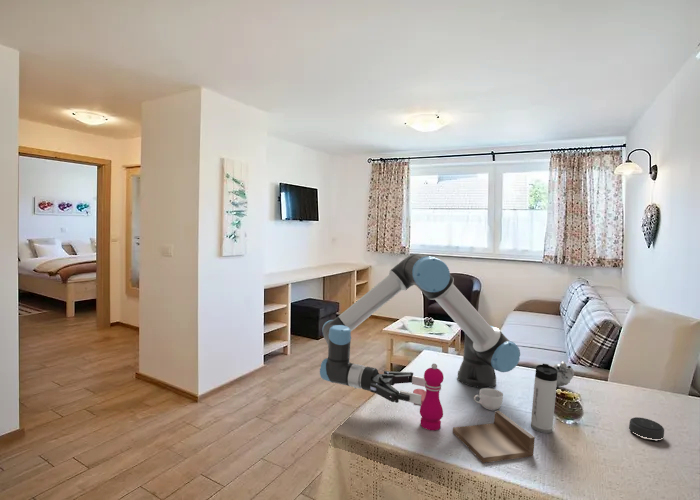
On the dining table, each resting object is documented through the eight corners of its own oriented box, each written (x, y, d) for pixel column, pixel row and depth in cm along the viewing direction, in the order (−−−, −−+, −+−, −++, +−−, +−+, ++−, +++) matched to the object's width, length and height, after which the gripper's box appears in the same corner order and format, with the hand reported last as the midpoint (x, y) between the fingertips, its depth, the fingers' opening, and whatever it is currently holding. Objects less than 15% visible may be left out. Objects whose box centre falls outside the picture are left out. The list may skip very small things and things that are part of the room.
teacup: (495, 402, 147) (497, 388, 147) (505, 412, 139) (507, 397, 139) (469, 402, 146) (470, 387, 146) (477, 412, 138) (478, 397, 138)
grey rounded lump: (575, 386, 165) (572, 356, 165) (576, 394, 156) (572, 363, 156) (548, 385, 169) (544, 356, 170) (547, 392, 161) (543, 362, 161)
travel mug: (550, 425, 132) (556, 365, 130) (553, 435, 126) (559, 372, 124) (529, 421, 134) (534, 362, 132) (531, 430, 128) (537, 368, 126)
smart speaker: (646, 443, 123) (648, 431, 123) (621, 428, 132) (623, 416, 132) (670, 442, 125) (672, 429, 125) (644, 427, 134) (645, 415, 134)
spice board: (497, 427, 129) (499, 410, 128) (533, 456, 114) (534, 437, 113) (452, 432, 124) (453, 414, 124) (483, 463, 109) (484, 443, 109)
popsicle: (415, 406, 138) (412, 388, 153) (415, 410, 138) (412, 392, 153) (431, 407, 138) (426, 389, 153) (431, 411, 138) (426, 393, 153)
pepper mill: (416, 419, 131) (420, 359, 130) (438, 419, 132) (442, 359, 130) (422, 431, 124) (426, 367, 122) (445, 431, 125) (449, 368, 123)
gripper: (376, 376, 148) (434, 388, 139) (347, 403, 125) (415, 420, 116) (377, 355, 147) (436, 367, 138) (349, 379, 125) (416, 394, 116)
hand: (426, 391), depth 127 cm, fingers open, 13 cm apart
